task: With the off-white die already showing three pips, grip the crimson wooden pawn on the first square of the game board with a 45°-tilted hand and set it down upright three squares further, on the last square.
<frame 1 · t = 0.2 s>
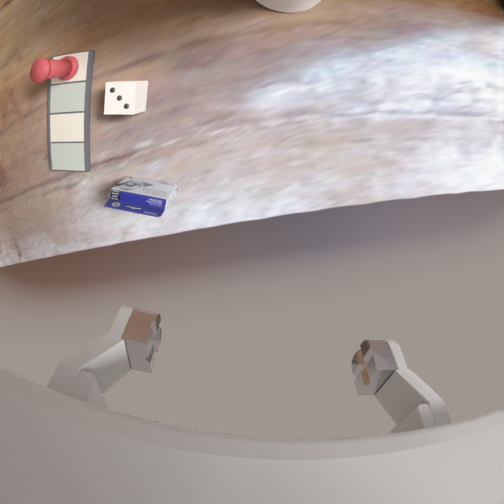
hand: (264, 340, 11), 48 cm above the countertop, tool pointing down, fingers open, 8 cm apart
ink box: (151, 183, 58), on the countertop
game board: (69, 112, 48), on the countertop
die: (132, 95, 48), on the countertop
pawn: (68, 68, 42), point 1 cm above the countertop, touching game board
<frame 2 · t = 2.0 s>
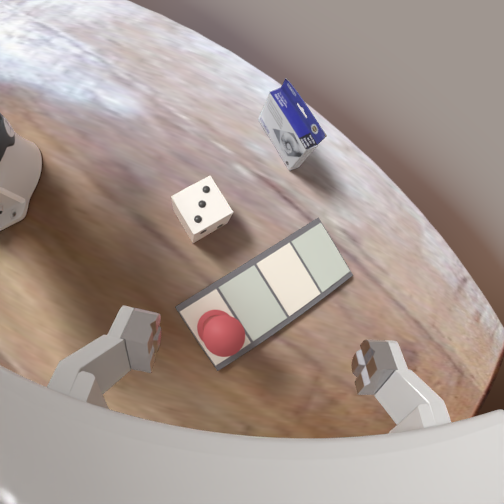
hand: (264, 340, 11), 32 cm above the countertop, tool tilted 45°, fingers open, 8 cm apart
ink box: (277, 143, 49), on the countertop
game board: (269, 291, 45), on the countertop
die: (199, 216, 44), on the countertop
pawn: (215, 327, 41), point 1 cm above the countertop, touching game board
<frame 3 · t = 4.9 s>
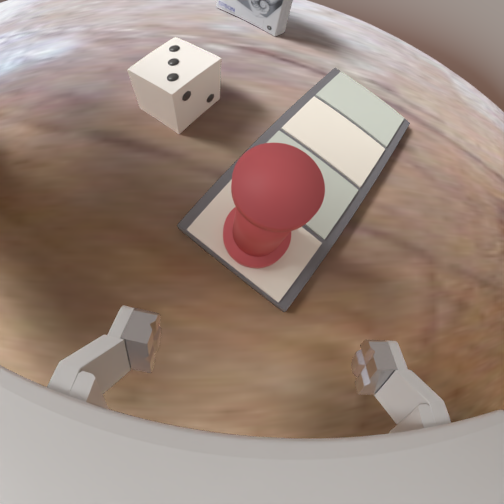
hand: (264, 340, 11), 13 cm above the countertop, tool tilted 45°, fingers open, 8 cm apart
ink box: (248, 20, 32), on the countertop
game board: (316, 163, 27), on the countertop
die: (179, 102, 27), on the countertop
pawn: (255, 236, 24), point 1 cm above the countertop, touching game board
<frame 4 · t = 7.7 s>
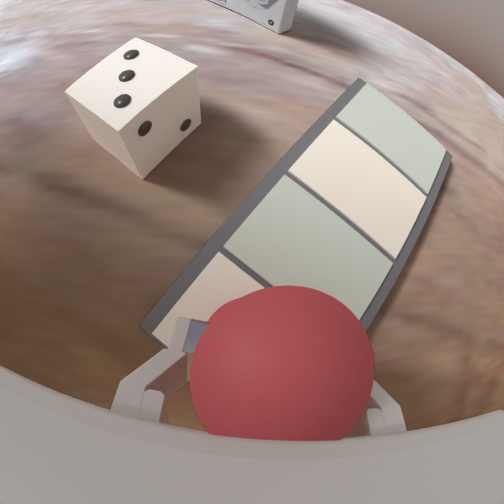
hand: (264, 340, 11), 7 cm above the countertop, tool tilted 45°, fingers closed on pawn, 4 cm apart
ink box: (244, 13, 24), on the countertop
game board: (336, 222, 20), on the countertop
die: (145, 130, 20), on the countertop
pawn: (249, 343, 16), point 1 cm above the countertop, touching game board, gripper
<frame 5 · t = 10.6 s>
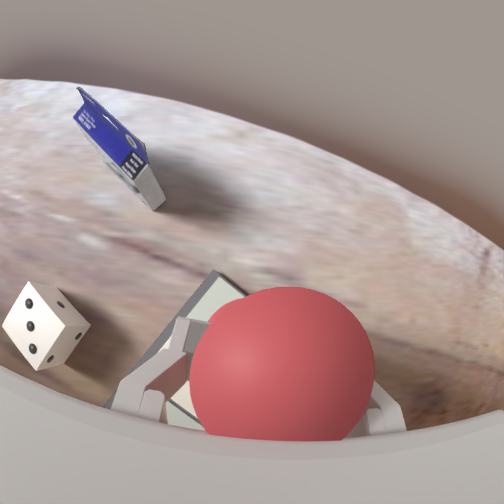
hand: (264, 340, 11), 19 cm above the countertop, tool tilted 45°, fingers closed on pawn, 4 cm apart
ink box: (129, 177, 32), on the countertop
game board: (177, 401, 27), on the countertop
die: (59, 326, 27), on the countertop
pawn: (248, 344, 16), point 13 cm above the countertop, touching gripper
when the fingers open (8 cm above the countertop, at t = 13.3 s): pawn drops 1 cm, resting on game board.
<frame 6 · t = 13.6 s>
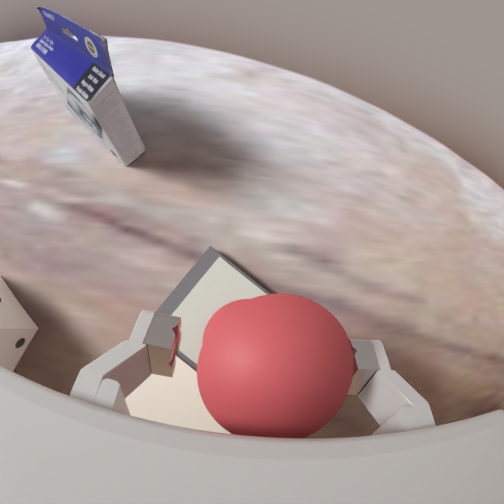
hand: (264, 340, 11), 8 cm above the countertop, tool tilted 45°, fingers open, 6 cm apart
ink box: (100, 126, 21), on the countertop
game board: (158, 442, 17), on the countertop
die: (2, 327, 17), on the countertop
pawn: (246, 342, 18), point 1 cm above the countertop, touching game board
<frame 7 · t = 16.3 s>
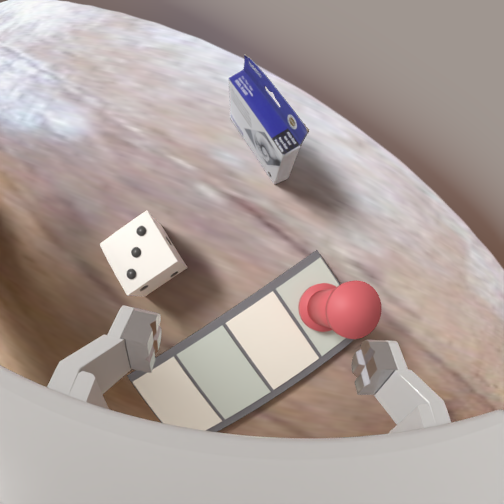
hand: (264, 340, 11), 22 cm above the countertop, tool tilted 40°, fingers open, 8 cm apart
ink box: (257, 147, 36), on the countertop
game board: (248, 356, 32), on the countertop
die: (152, 260, 33), on the countertop
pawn: (321, 307, 32), point 1 cm above the countertop, touching game board
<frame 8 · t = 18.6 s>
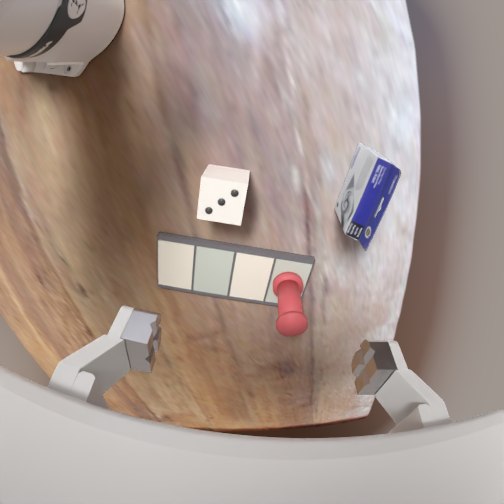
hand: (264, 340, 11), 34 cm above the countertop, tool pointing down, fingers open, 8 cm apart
ink box: (350, 178, 42), on the countertop
game board: (232, 271, 52), on the countertop
die: (226, 186, 44), on the countertop
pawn: (287, 283, 51), point 1 cm above the countertop, touching game board
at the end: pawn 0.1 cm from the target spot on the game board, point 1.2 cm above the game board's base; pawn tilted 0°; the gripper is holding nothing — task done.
